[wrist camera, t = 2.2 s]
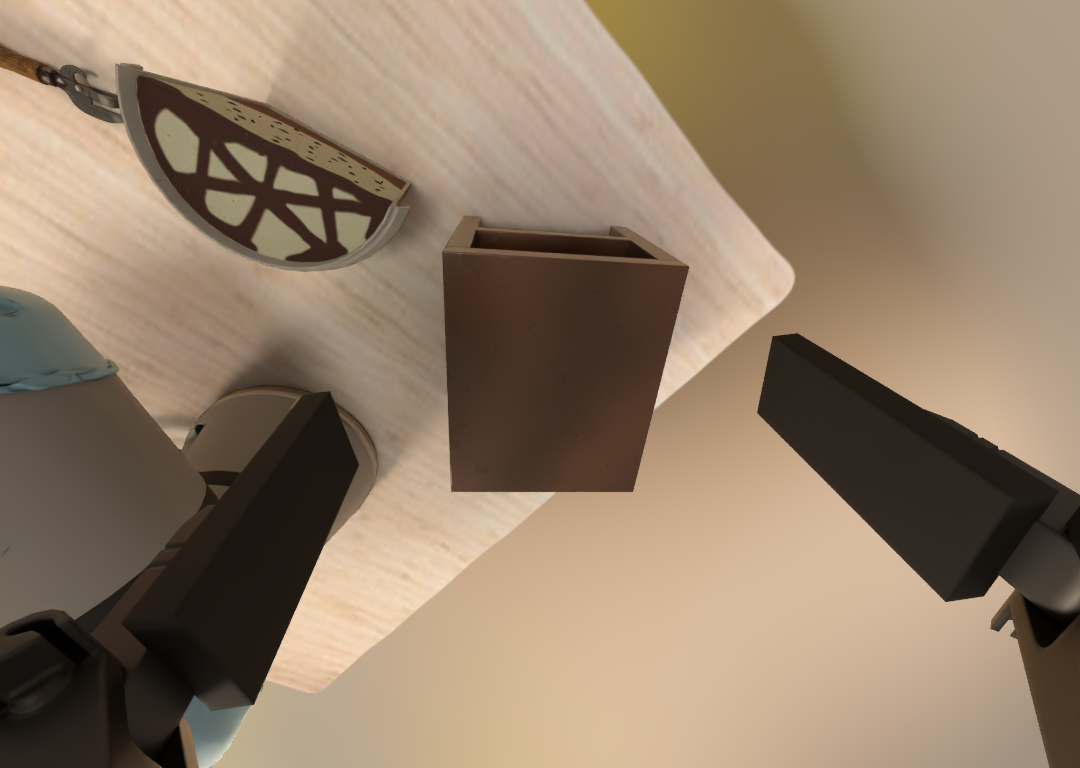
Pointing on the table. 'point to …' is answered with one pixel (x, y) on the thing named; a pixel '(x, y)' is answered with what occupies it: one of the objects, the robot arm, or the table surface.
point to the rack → (554, 356)
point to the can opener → (64, 84)
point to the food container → (258, 175)
